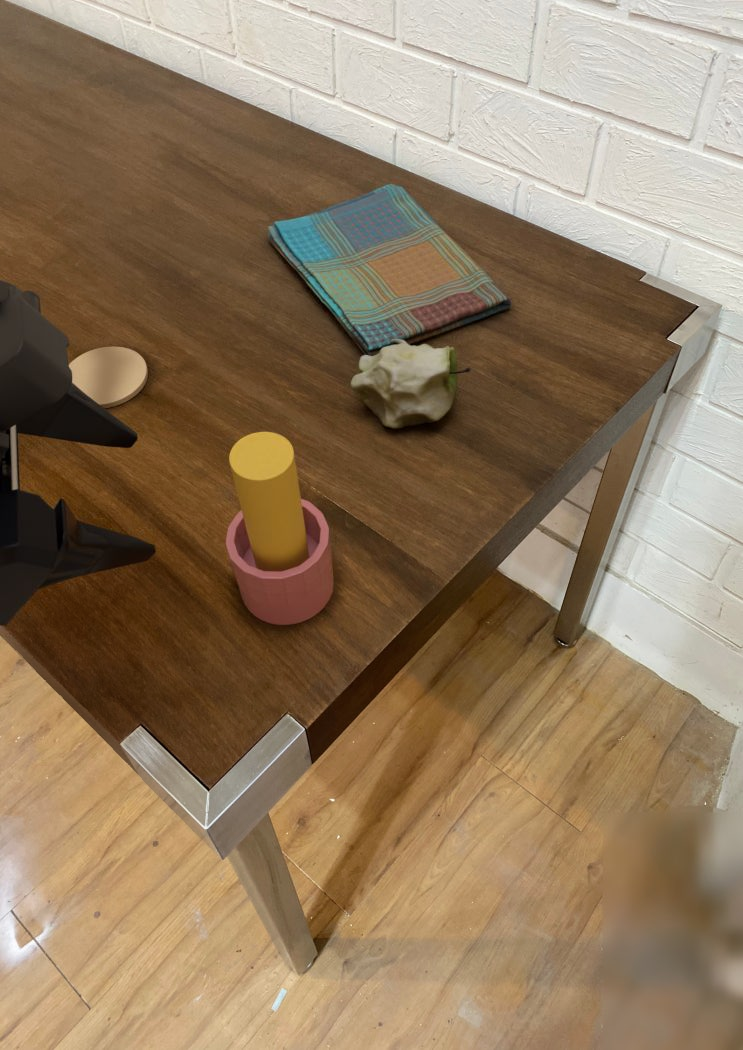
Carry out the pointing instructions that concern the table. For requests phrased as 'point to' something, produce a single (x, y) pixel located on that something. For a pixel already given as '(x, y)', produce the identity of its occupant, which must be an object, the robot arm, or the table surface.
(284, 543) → the yellow cylinder
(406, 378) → the fruit
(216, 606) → the table surface
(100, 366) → the disc
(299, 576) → the pot
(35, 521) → the robot arm
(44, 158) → the table surface
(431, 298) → the dish towel
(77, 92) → the table surface
